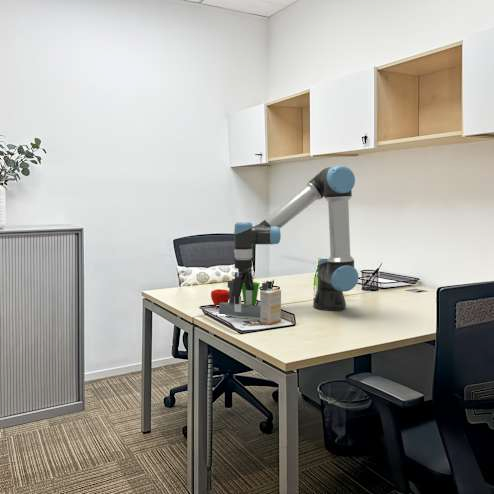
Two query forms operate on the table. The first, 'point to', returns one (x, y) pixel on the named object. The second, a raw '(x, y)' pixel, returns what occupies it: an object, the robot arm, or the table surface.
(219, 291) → the apple
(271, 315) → the supplement box
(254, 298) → the cup
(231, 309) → the rail
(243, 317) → the pad
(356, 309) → the table surface
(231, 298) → the standards
